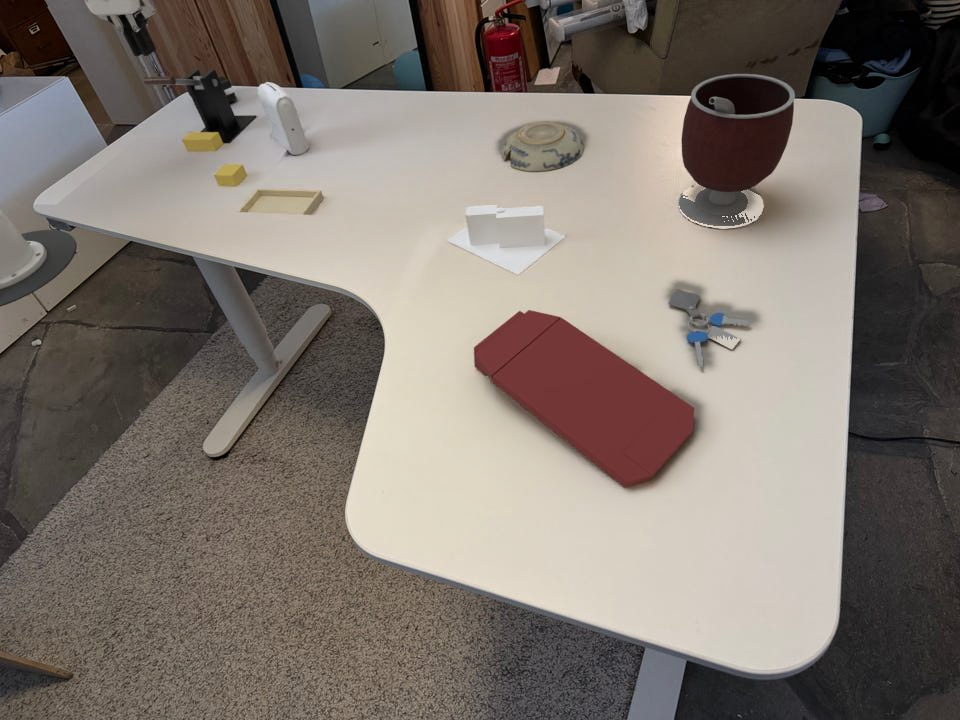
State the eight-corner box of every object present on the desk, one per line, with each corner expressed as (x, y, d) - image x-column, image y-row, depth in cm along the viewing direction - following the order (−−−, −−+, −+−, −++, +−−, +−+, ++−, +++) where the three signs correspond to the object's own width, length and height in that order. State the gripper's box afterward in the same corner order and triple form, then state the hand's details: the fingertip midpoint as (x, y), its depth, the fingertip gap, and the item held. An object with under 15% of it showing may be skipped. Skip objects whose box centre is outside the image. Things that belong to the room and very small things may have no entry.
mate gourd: (702, 172, 99) (722, 43, 84) (786, 198, 91) (824, 61, 77) (649, 218, 92) (662, 86, 78) (735, 249, 85) (767, 110, 70)
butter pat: (239, 190, 114) (231, 175, 111) (220, 190, 115) (213, 175, 112) (249, 179, 116) (242, 164, 114) (231, 179, 117) (224, 164, 115)
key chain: (662, 294, 80) (663, 289, 79) (724, 284, 80) (725, 279, 79) (698, 371, 70) (699, 366, 70) (768, 360, 70) (770, 355, 70)
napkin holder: (566, 235, 92) (566, 203, 88) (519, 275, 87) (515, 242, 82) (493, 206, 100) (489, 175, 95) (445, 241, 94) (439, 209, 90)
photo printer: (312, 149, 122) (291, 88, 113) (293, 158, 120) (270, 96, 111) (291, 134, 128) (270, 74, 119) (273, 141, 126) (249, 82, 117)
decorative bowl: (600, 144, 109) (537, 123, 117) (601, 124, 107) (536, 104, 115) (547, 182, 103) (484, 157, 111) (546, 162, 100) (482, 138, 108)
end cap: (195, 108, 144) (181, 79, 139) (221, 96, 147) (209, 67, 142) (213, 118, 138) (200, 88, 134) (240, 106, 141) (228, 76, 136)
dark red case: (693, 437, 69) (528, 322, 79) (705, 415, 65) (530, 296, 75) (629, 510, 63) (463, 376, 74) (638, 490, 60) (461, 351, 70)
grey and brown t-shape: (171, 87, 112) (169, 73, 111) (145, 88, 114) (142, 73, 113) (220, 89, 125) (218, 76, 124) (196, 89, 126) (194, 77, 125)
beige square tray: (291, 241, 100) (288, 233, 99) (224, 238, 103) (220, 230, 102) (323, 198, 108) (321, 190, 107) (260, 196, 111) (257, 188, 110)
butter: (217, 155, 125) (210, 139, 123) (189, 155, 127) (181, 139, 124) (225, 147, 127) (218, 132, 125) (197, 147, 129) (189, 131, 126)
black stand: (231, 147, 127) (204, 86, 117) (191, 147, 129) (161, 87, 120) (258, 120, 134) (234, 61, 125) (220, 121, 137) (194, 62, 128)
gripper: (31, -57, 96) (98, 63, 109) (110, -65, 92) (169, 60, 105) (63, -70, 101) (124, 46, 114) (139, -78, 97) (193, 43, 110)
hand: (145, 52), depth 110 cm, fingers closed
